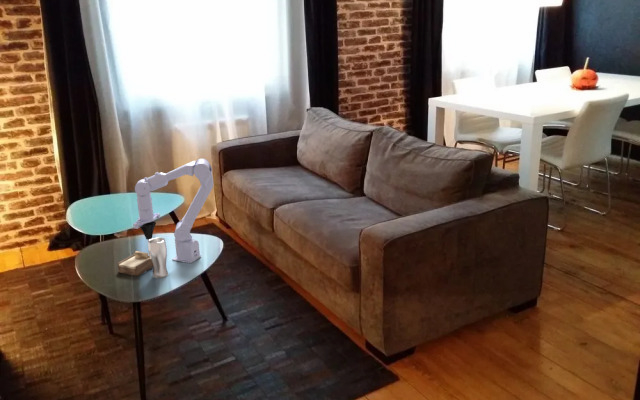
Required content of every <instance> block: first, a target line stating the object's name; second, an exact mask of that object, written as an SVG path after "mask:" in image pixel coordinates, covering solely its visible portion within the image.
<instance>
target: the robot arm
mask: <svg viewBox="0 0 640 400" xmlns="http://www.w3.org/2000/svg"><path fill="white" fill-rule="evenodd" d="M185 175H187V176H191V177H194V176H195V178H196V179H198V181H199V183H200V186H199V188H198V190H197V192H196V194H195V196H194V197H193V199H192V201H191V203H190V205H189V207H188V209H187V211H186V213H185V215H184V216H183V217H182V219H181V220H180V221H178V222H177V223H176V226H175V230H174V233H173V235H174V243H175V255H176V256H175V257H173V258H172V261H174V262H175V261H176V262H183V263H187V264H188V263H189V264H191V263H193V262H195V261H197V260H198V259H199V258H202V255H201V254H200V253H201V251H200V244H199V241H198V240H195V238H193V235H192V234H191V230H192V228H193V225H194V223H195V220H196V219H197V217H198V215H199V213H200V211H201V210H202V208H203V206H204V204H205V202H206V201H207V199H208V197H209V195H210V193H211V192H212V190H213V188H214V175H213V168H212V166H211V163H210V161H208V160H207V159H206V158H199V159H197V160H192V161H190V162H188V163H185V164H183V165H181V166H179V167H176V168H175V169H173V170H171V171H168V172H167V173H165V172H158V171H156V172H155V173H154V175H151V176H149V177H147V176H146V177H143V178H142V179H140V180H138V181H137V182H136V184H135V186H134V192H135V194H136V202H137V210H138V218H137V220H136V221H135V222H133V224H132V226H133V229H139V228H140V230H141V231H142V232H143V235H144V237H145V239H146V240H147V241H148V240H150V239H152V238H153V233H154V229H155V227H156V221H155V220H156V219H160V218H161V214H160V213H159V212H155V213H154V209H153V200H152V195H151V192H154V191H155V190H158V189H161V188H163V187H166V186H167V185H168V183H169V181H172V180H175V179H178V178H180V177H182V176H185Z"/></svg>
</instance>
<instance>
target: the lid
mask: <svg viewBox="0 0 640 400" xmlns="http://www.w3.org/2000/svg"><path fill="white" fill-rule="evenodd" d="M134 254H135V256H133V257H132V258H130V259H128V260H126V261H124V262H122V263H121V264H119V266H121V267H126V268H131V269H136V266H137V265H139V264H141V263H143V262H144V261H146V260H148V259H150V258H149V257H148V256H149V252H145V251H138V250H136V251H134Z"/></svg>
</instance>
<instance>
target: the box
mask: <svg viewBox="0 0 640 400" xmlns="http://www.w3.org/2000/svg"><path fill="white" fill-rule="evenodd" d="M133 256H135V253H133V254H132V255H129V256H128V257H126V258H124V259H122V260H120V261H118V262H117V269H118V273H121V274H125V275H131V276H137V277H140V276H141V275H143V274H145V273H146V272H148V271H149V270H151V269H153V266H152V263H151V260H150V259H148V260H146V261H144V262H143V263H141V264H139V265H137V266H136V269H131V268H126V267H121V266H119V264H121V263H122V262H124V261H126V260H128V259H130V258H132V257H133ZM148 257H149V258H150V256H149V255H148Z"/></svg>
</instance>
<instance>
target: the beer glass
mask: <svg viewBox="0 0 640 400" xmlns="http://www.w3.org/2000/svg"><path fill="white" fill-rule="evenodd" d="M147 244H148V245H147V247H148V248H147V249H148V256H150V260H151V263H152V266H153V268H152V277H153V278H154V279H163V278H166V277H168V275H169V272H168V269H167V257H168V254H167V253H168V249H167V243H166V239H165V238H164V237H157V236H156V237H152V239H150V240H147Z"/></svg>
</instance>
